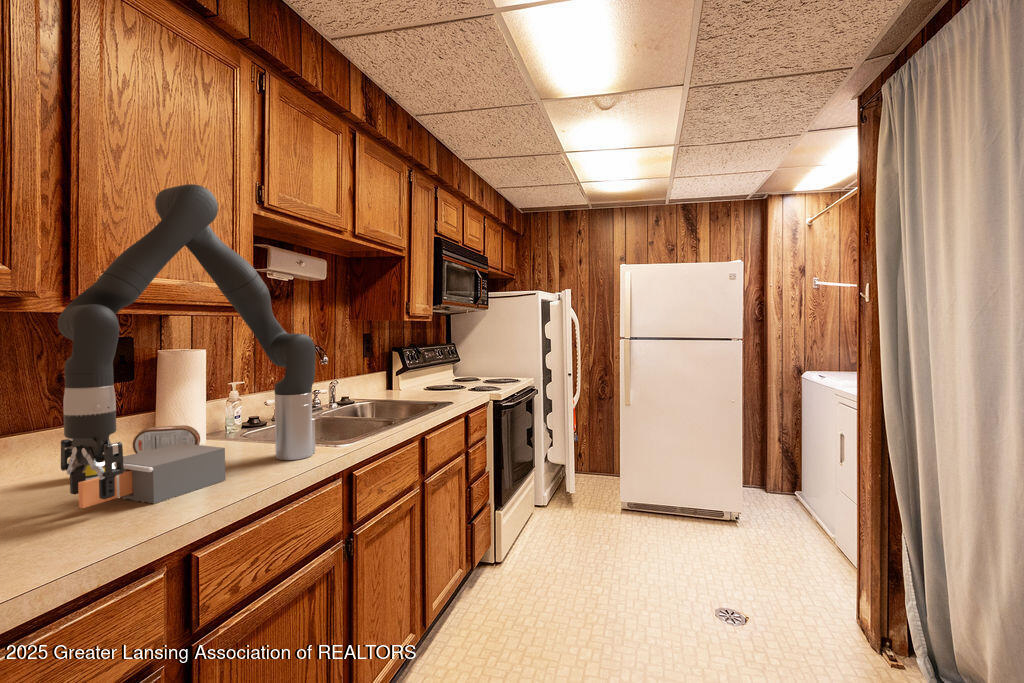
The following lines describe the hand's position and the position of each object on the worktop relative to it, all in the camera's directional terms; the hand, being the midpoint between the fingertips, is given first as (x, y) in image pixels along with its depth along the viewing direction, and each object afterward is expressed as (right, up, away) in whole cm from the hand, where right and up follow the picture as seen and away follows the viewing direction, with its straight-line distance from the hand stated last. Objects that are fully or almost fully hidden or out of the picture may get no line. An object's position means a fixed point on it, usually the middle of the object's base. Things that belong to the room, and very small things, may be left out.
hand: (92, 495), depth 93 cm
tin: (-14, -2, +40) cm, 42 cm away
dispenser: (+5, -3, +14) cm, 15 cm away
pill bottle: (-19, -3, +21) cm, 29 cm away
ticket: (+2, -2, +7) cm, 7 cm away
